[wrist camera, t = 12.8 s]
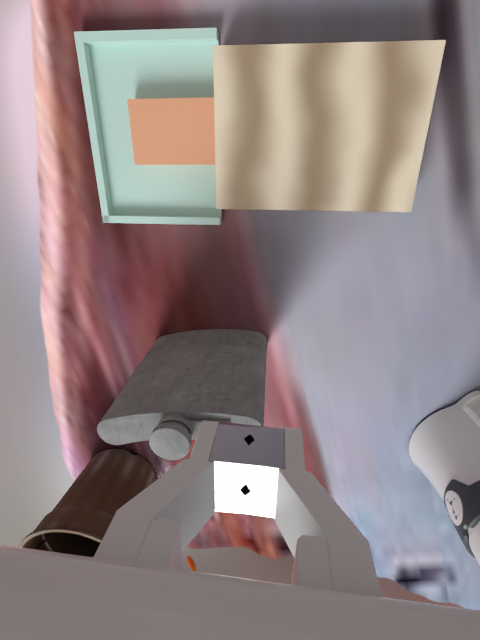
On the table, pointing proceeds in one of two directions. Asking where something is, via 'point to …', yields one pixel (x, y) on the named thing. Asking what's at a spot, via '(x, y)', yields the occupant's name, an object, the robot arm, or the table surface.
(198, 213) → the tray
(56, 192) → the table surface
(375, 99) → the beige flat block
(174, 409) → the hip flask
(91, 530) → the plant pot
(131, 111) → the salmon pink block
